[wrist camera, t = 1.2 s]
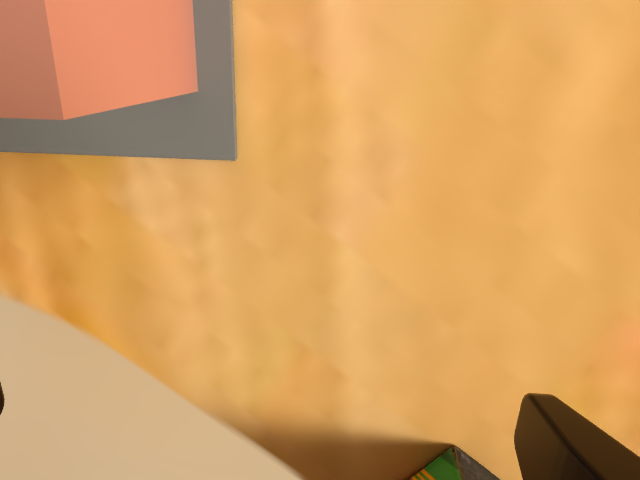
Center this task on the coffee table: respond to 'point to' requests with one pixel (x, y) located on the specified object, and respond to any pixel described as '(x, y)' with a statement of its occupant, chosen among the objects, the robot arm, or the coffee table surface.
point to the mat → (154, 110)
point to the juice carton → (454, 468)
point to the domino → (93, 55)
